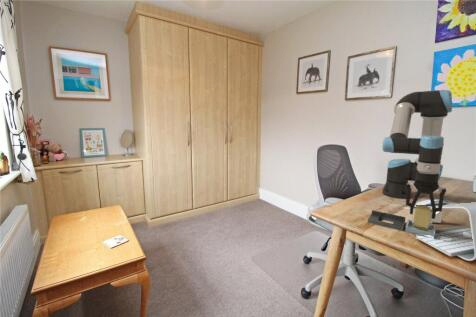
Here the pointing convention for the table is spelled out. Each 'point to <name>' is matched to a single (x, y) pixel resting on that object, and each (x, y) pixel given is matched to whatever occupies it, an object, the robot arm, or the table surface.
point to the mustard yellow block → (421, 217)
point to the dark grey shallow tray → (397, 220)
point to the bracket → (437, 217)
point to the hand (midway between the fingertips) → (421, 222)
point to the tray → (419, 231)
